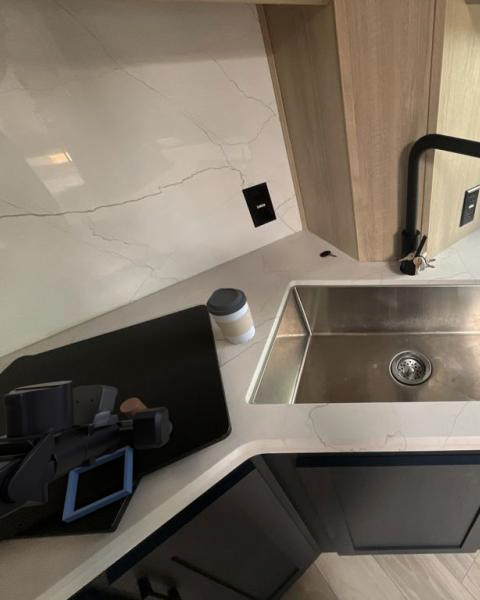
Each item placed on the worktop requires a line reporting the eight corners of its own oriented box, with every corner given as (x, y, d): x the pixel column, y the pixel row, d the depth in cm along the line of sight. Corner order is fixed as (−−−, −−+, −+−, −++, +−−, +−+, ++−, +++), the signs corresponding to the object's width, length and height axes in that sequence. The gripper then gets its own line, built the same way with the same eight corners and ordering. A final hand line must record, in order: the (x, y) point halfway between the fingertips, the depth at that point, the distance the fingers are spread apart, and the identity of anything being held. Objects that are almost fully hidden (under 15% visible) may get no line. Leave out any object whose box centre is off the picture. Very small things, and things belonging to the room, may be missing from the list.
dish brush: (144, 452, 65) (110, 424, 57) (144, 429, 68) (112, 399, 60) (176, 439, 67) (147, 410, 59) (174, 417, 70) (147, 386, 62)
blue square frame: (71, 524, 56) (61, 520, 54) (78, 474, 61) (69, 469, 60) (134, 494, 59) (127, 490, 57) (135, 450, 65) (128, 445, 63)
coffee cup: (266, 335, 88) (250, 295, 78) (234, 355, 83) (213, 314, 73) (249, 319, 92) (232, 278, 82) (218, 336, 87) (196, 295, 77)
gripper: (132, 388, 48) (189, 370, 63) (-12, 402, 45) (83, 379, 61) (136, 464, 47) (192, 427, 63) (-9, 482, 45) (86, 439, 60)
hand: (139, 417), depth 62 cm, fingers open, 9 cm apart
